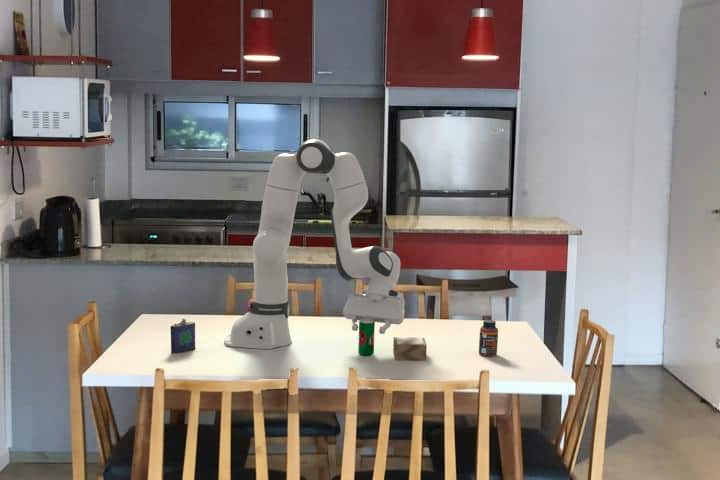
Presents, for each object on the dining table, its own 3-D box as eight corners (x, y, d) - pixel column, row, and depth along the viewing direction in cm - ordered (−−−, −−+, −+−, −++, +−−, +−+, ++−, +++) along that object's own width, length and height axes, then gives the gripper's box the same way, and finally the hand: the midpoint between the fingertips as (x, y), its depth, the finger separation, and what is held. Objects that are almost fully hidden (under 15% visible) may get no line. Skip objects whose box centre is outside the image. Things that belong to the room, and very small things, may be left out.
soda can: (372, 357, 298) (373, 320, 296) (356, 356, 299) (357, 319, 297) (375, 353, 303) (376, 317, 301) (359, 352, 304) (360, 316, 302)
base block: (394, 360, 295) (395, 344, 294) (393, 351, 305) (393, 336, 304) (426, 360, 295) (426, 344, 294) (423, 352, 305) (424, 336, 304)
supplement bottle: (485, 357, 301) (487, 323, 299) (475, 353, 306) (476, 319, 304) (500, 356, 303) (502, 322, 302) (490, 351, 308) (491, 318, 307)
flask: (192, 347, 304) (192, 315, 303) (197, 349, 302) (197, 317, 301) (169, 352, 298) (168, 320, 296) (174, 354, 296) (174, 321, 294)
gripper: (347, 287, 310) (335, 322, 302) (405, 293, 302) (395, 329, 295) (352, 298, 314) (340, 333, 307) (409, 304, 307) (399, 339, 299)
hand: (367, 331), depth 301 cm, fingers open, 8 cm apart
